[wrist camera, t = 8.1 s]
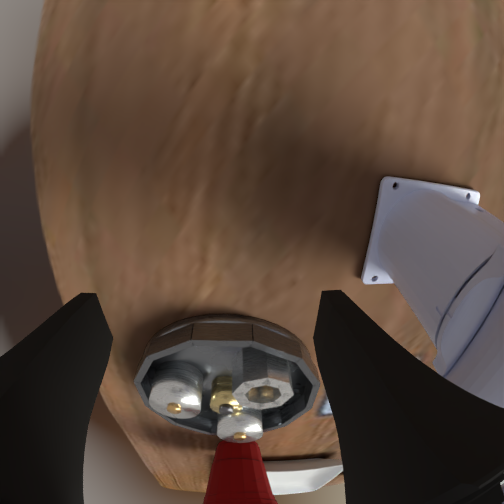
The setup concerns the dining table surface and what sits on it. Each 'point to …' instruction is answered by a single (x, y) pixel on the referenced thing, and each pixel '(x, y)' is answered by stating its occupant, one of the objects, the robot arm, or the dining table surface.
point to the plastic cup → (238, 476)
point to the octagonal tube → (260, 379)
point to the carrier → (220, 375)
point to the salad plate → (301, 474)
